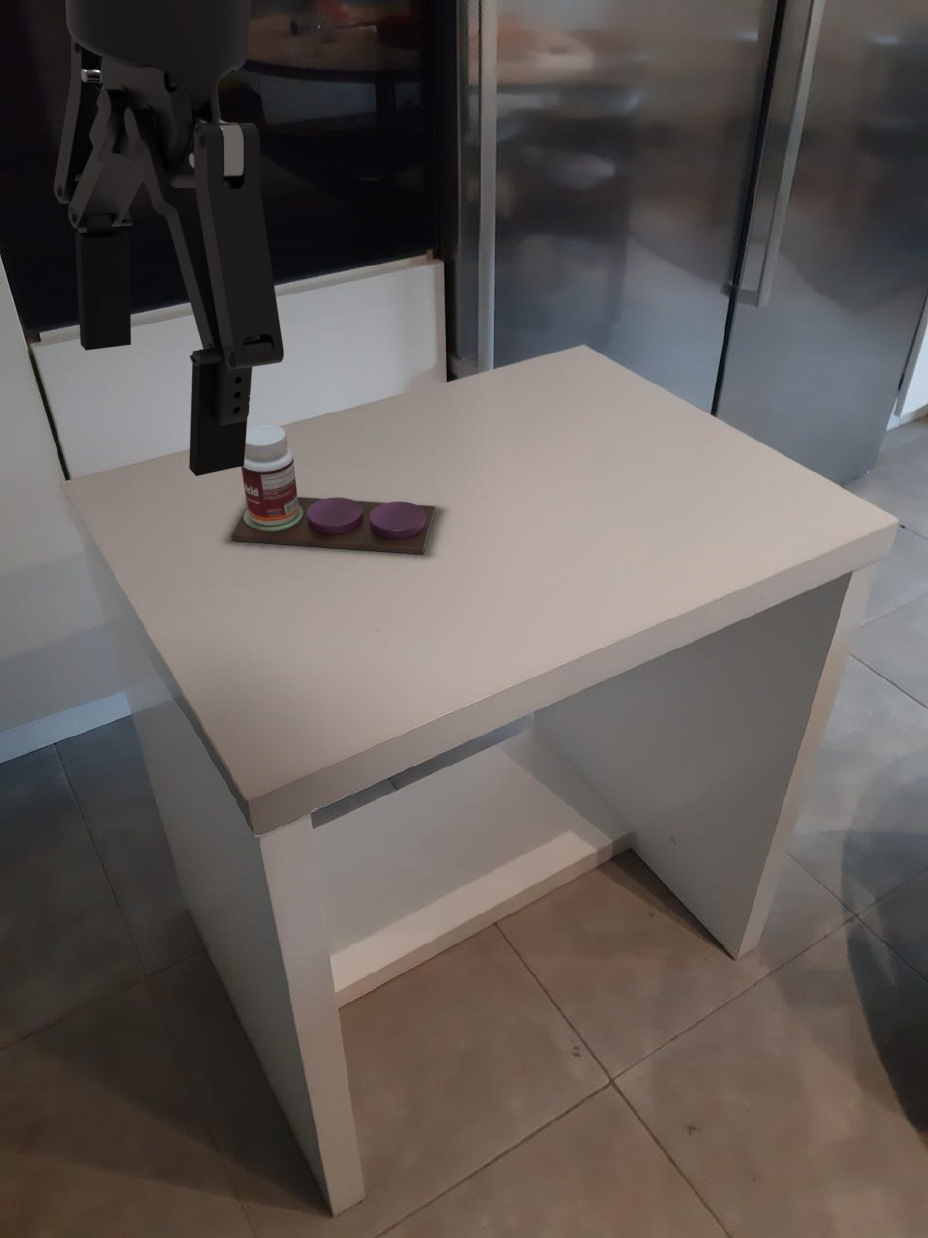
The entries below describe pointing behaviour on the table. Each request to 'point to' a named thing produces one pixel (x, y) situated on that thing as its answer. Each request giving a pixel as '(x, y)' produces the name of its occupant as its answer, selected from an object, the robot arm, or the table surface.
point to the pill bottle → (269, 476)
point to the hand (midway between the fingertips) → (157, 402)
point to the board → (347, 526)
